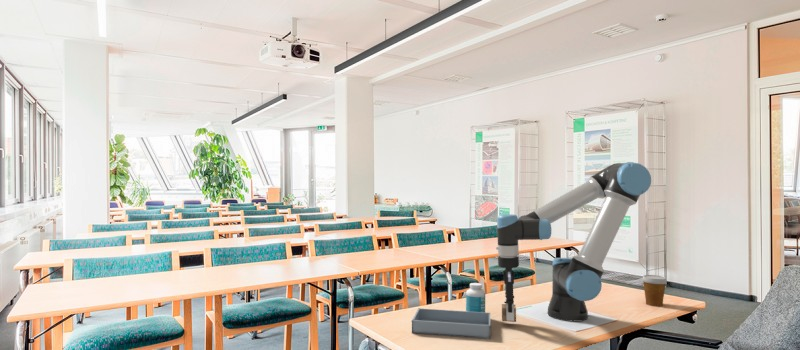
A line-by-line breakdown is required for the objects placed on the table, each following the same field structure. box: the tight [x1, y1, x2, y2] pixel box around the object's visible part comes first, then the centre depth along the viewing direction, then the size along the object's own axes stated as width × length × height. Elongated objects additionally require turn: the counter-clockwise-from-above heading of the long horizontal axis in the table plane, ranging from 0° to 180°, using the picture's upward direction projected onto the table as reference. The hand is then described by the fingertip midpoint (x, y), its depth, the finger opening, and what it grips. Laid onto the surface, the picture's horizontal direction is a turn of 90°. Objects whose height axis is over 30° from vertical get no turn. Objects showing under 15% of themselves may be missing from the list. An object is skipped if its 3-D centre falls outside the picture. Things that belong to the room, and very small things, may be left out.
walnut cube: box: [501, 303, 517, 323], centre depth 174 cm, size 5×5×5 cm
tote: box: [411, 307, 491, 340], centre depth 169 cm, size 27×15×4 cm, turn 79°
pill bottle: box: [465, 282, 486, 313], centre depth 181 cm, size 8×7×14 cm
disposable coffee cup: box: [641, 274, 668, 307], centre depth 203 cm, size 10×10×12 cm
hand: (509, 318), depth 174 cm, fingers closed on walnut cube, 5 cm apart
